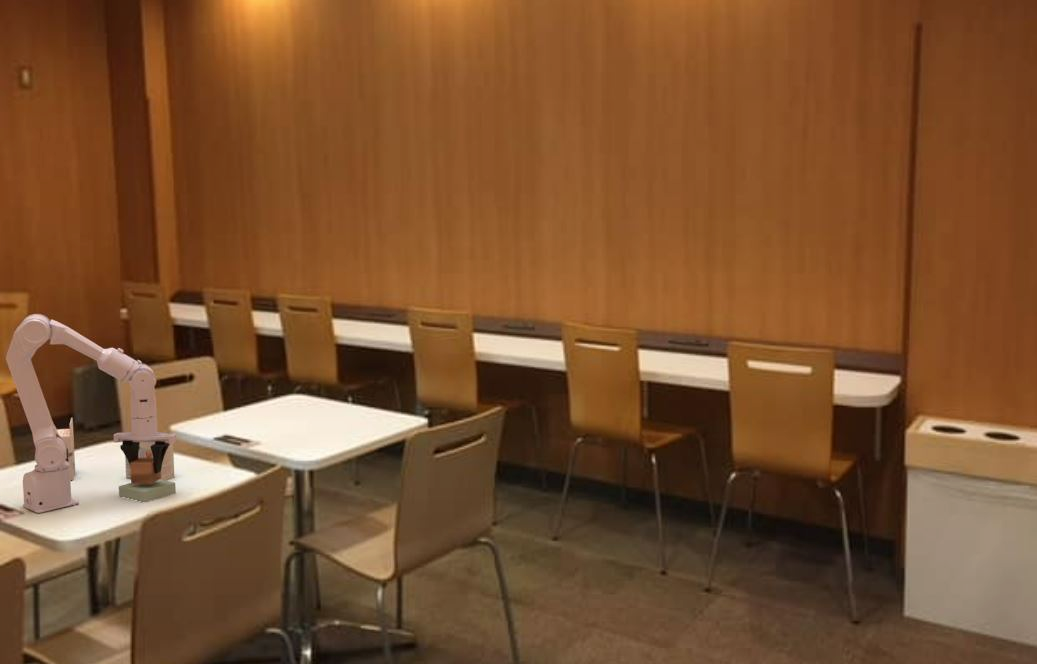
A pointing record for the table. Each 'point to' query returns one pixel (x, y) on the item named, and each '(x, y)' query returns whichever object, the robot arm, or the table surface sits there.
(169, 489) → the sage green box
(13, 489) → the table surface
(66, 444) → the robot arm
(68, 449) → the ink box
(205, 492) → the table surface
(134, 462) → the walnut cube
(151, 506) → the table surface
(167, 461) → the light bulb box
